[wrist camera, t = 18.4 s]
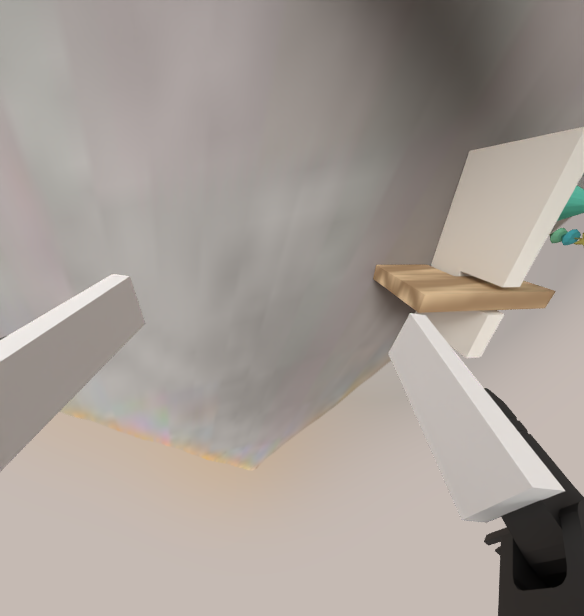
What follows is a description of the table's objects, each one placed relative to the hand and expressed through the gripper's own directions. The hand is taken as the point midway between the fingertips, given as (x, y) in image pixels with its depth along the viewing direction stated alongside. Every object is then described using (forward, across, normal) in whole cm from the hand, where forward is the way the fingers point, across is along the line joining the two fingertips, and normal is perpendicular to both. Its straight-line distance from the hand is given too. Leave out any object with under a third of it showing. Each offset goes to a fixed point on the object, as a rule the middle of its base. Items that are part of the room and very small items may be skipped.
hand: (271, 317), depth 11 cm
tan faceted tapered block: (+27, +24, -6) cm, 36 cm away
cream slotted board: (+28, +25, -2) cm, 37 cm away
